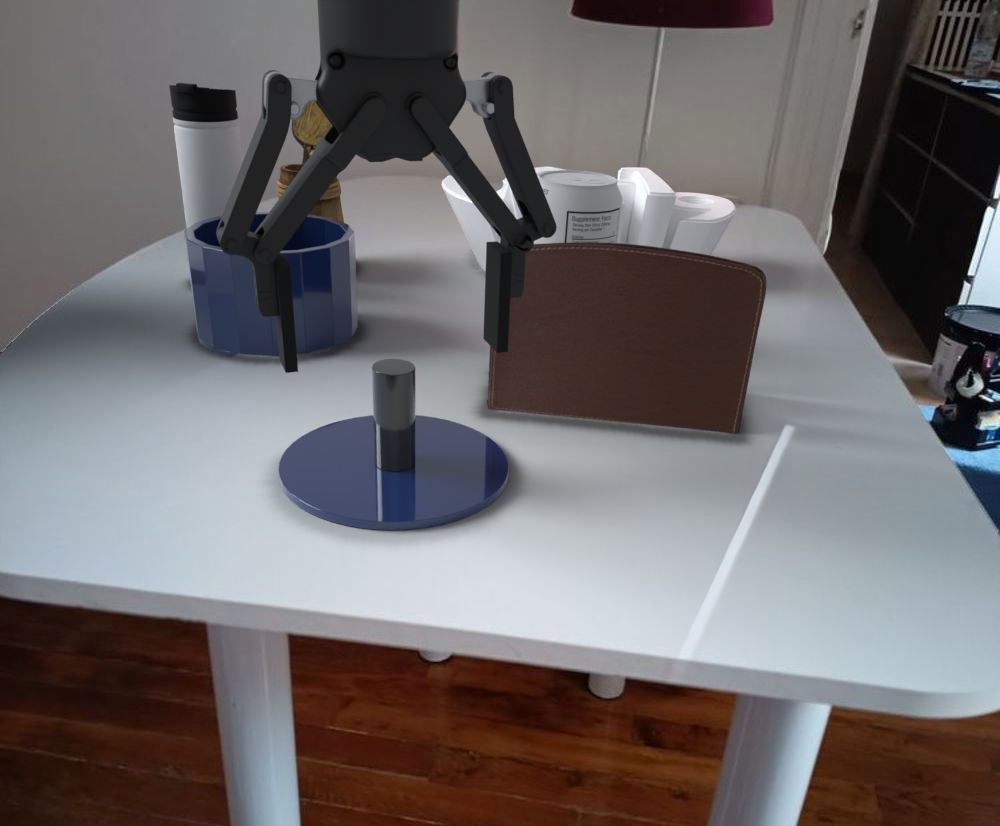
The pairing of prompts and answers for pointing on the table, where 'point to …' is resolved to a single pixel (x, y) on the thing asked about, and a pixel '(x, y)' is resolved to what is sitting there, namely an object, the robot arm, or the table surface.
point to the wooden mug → (308, 135)
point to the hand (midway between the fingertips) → (395, 355)
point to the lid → (393, 463)
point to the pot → (314, 278)
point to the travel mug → (206, 148)
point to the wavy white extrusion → (644, 214)
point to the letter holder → (630, 336)
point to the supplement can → (582, 206)
